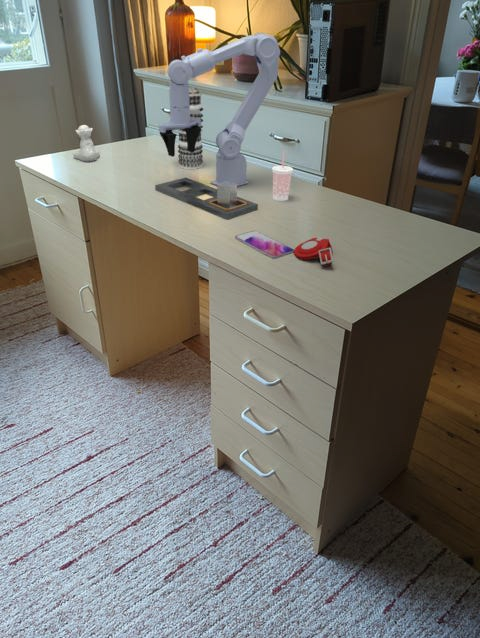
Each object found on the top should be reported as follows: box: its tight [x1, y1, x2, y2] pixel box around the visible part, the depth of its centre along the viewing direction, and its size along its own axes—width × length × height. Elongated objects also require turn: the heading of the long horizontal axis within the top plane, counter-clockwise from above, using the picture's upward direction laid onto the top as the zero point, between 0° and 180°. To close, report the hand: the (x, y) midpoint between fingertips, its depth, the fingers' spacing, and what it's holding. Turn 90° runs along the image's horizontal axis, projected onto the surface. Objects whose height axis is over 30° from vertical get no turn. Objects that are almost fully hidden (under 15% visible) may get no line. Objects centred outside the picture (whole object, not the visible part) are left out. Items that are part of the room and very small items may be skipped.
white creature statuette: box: [72, 124, 101, 163], centre depth 182 cm, size 10×9×12 cm
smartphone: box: [234, 230, 295, 260], centre depth 127 cm, size 7×1×15 cm
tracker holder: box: [293, 237, 334, 267], centre depth 121 cm, size 12×4×10 cm
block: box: [216, 181, 238, 209], centre depth 146 cm, size 4×4×7 cm
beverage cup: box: [271, 150, 294, 202], centre depth 152 cm, size 6×6×14 cm
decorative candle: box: [176, 87, 204, 170], centre depth 175 cm, size 9×9×25 cm
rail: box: [154, 177, 259, 220], centre depth 153 cm, size 12×32×2 cm, turn 45°
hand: (181, 153), depth 158 cm, fingers open, 7 cm apart
